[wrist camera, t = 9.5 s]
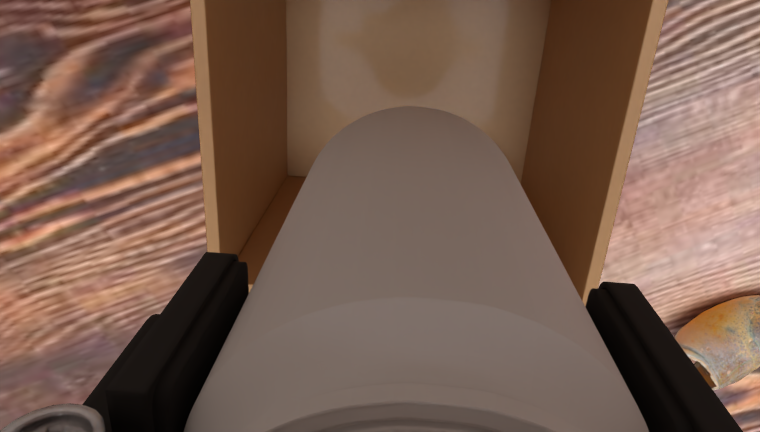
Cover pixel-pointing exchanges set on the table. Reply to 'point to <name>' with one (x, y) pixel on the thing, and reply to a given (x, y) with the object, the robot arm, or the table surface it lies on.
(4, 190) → the table surface
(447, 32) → the carton
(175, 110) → the table surface
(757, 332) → the shell
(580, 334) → the beverage can
